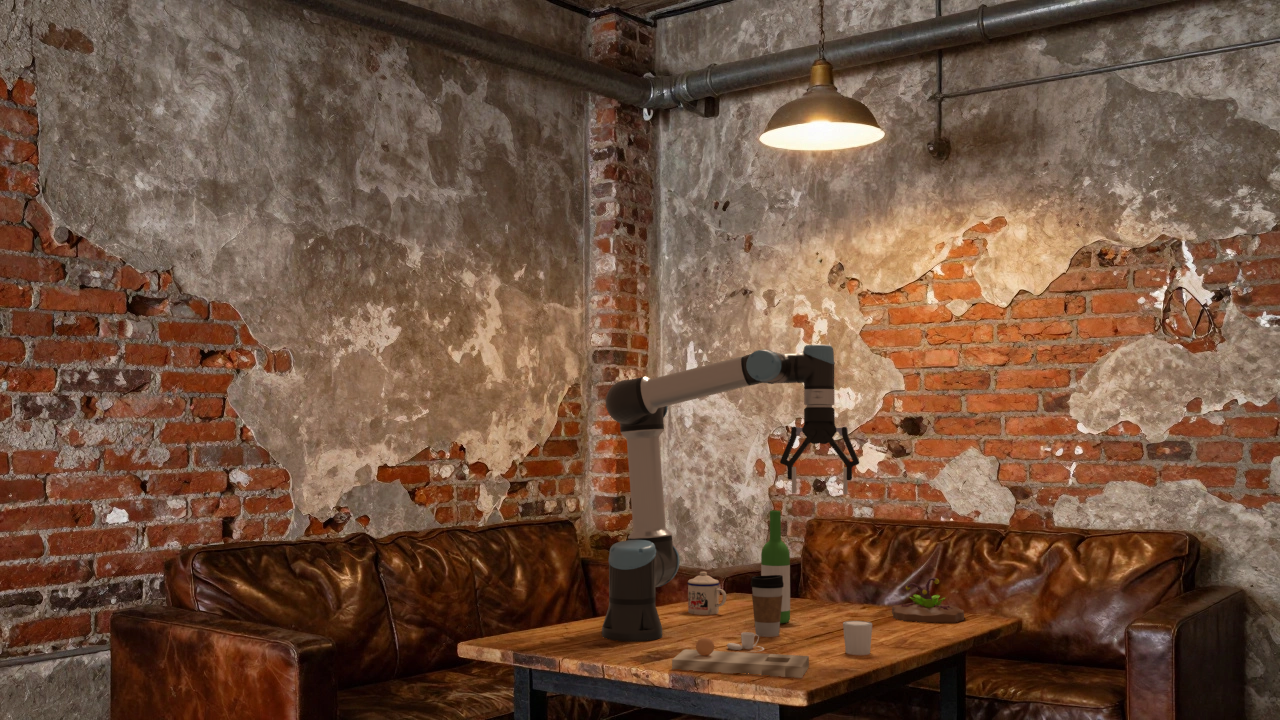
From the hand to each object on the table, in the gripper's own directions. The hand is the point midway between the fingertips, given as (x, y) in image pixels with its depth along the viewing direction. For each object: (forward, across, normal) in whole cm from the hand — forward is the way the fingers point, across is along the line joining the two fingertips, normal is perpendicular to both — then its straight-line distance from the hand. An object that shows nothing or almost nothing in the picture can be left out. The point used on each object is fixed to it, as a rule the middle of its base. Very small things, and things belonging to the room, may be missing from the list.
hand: (819, 493), depth 287 cm
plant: (+37, +25, +47) cm, 65 cm away
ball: (+32, -21, -38) cm, 54 cm away
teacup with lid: (+37, -35, +34) cm, 61 cm away
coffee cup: (+36, -14, +5) cm, 39 cm away
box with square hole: (+36, -13, -38) cm, 54 cm away
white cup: (+36, +10, -12) cm, 40 cm away
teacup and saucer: (+37, -18, -14) cm, 43 cm away
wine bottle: (+36, -15, +26) cm, 47 cm away
